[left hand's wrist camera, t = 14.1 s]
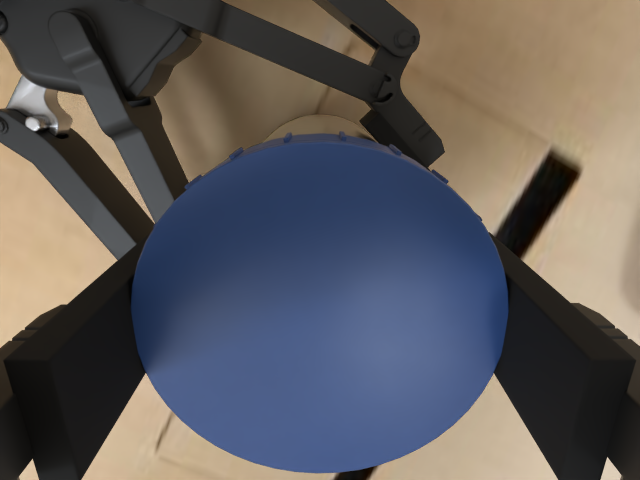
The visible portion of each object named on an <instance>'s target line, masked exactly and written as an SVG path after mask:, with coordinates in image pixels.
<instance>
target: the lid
mask: <svg viewBox="0 0 640 480" xmlns="http://www.w3.org/2000/svg"><path fill="white" fill-rule="evenodd" d="M448 182H449V181H448V180H447V179H445V178H444V177H443V176H441V175H440V174H439V173H437V172H436V171H435V170H432V171H431V172H430V171H429V170H427V169H426V168H425V167H423V166H422V165H421V164H419V163H418V162H417V161H415V160H413V159H412V158H410V157H408V156H406V155H404V154H402V152H401V151H400V150H399V149H397V148H396V147H395V146H394V145H392V144H390V145H389V147H387V146H384V145H382V144H379V143H376V142H374V141H371V140H366V139H362V138H357V137H353V136H348V135H345V133H344V132H343V131H340V132H339V135H337V134H326V133H319V134H298V135H293V136H292V133H291V132H290V133H287V134H286V135H285V137H282V138H277V139H273V140H270V141H267V142H264V143H261V144H258V145H255V146H252V147H249V148H247V149H245V150H243V148H242V147H241V148H239V149H238V150H236V151H235V152H234V153H232V154H231V155H230V156H229V158H228V159H226V160H225V161H223V162H222V163H221V164H219V165H218V166H216V167H215V168H213V169H212V170H210V171H209V172H208V173H206V174H205V175H204V176H203V177H202V176H201V175H199V176H198V177H196V178H195V179H194V180H192V181H191V182H190V183H188V184H187V185H186V186H185V189H186V191H185V192H184V193H183V194H181V195H180V196H179V197H178V198H177V199H176V200H175V201H174V202H173V203H172V204H171V206H170V207H169V208H168V209H167V210H166V212H165V213H164V214H163V215H162V217H161V218H160V219H159V220H158V222H157V223H155V225H154V226H153V228H154V229H153V230H152V232H151V234H150V235H149V237H148V239H147V241H146V243H145V245H144V248H143V250H142V253H141V255H140V258H139V260H138V263H137V267H136V271H135V275H134V280H133V284H132V295H131V315H132V321H133V327H134V333H135V339H136V344H137V350H138V354H139V357H140V359H141V362H142V365H143V367H144V370H145V372H146V374H147V375H148V377H149V379H150V381H151V383H152V384H153V386H154V388H155V390H156V391H157V392H158V394H159V395H160V396H161V398H162V399H163V400H164V402H165V403H166V404H167V406H168V407H169V408H170V409H171V410H172V411H173V412H174V413H175V414H176V415H177V416H178V417H179V418H180V419H181V421H183V422H184V423H185V424H186V425H187V426H189V427H190V428H191V429H192V430H193V431H195V432H196V433H197V434H198V435H200V436H201V437H203V438H204V439H206V440H207V441H209V442H211V443H212V444H214V445H215V446H217V447H219V448H221V449H223V450H225V451H227V452H229V453H231V454H233V455H235V456H237V457H240V458H243V459H245V460H248V461H250V462H253V463H256V464H260V465H264V466H267V467H271V468H275V469H281V470H287V471H293V472H305V473H338V472H345V471H353V470H360V469H364V468H368V467H372V466H377V465H381V464H383V463H386V462H389V461H392V460H395V459H398V458H400V457H403V456H405V455H407V454H409V453H411V452H413V451H415V450H417V449H419V448H421V447H423V446H424V445H426V444H428V443H429V442H431V441H432V440H434V439H436V438H437V437H439V436H440V435H441V434H442V433H444V432H445V431H446V430H448V429H449V428H450V427H451V426H453V425H454V424H455V423H456V422H457V421H458V420H459V419H460V418H461V417H462V416H463V415H464V414H465V413H466V412H467V411H468V410H469V409H470V408H471V406H472V405H473V404H474V403H475V401H476V400H477V399H478V398H479V396H480V395H481V394H482V392H483V390H484V389H485V387H486V385H487V384H488V382H489V380H490V379H491V377H492V375H493V373H494V371H495V368H496V366H497V364H498V361H499V359H500V357H501V353H502V348H503V343H504V337H505V331H506V326H507V319H508V313H509V303H508V288H507V283H506V277H505V272H504V268H503V265H502V262H501V259H500V257H499V254H498V251H497V248H496V246H495V244H494V242H493V240H492V238H491V237H490V235H489V233H488V231H487V229H486V227H485V226H484V224H483V223H482V222H481V221H482V219H481V217H480V216H478V215H477V214H476V213H475V212H474V211H473V210H472V208H471V207H470V206H469V205H468V204H467V203H466V202H465V201H464V200H463V199H462V198H461V197H460V196H459V195H458V194H457V193H456V192H455V191H454V190H453V189H452V188H451V187H449V186H448V185H447V183H448Z"/></svg>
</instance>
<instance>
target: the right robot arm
mask: <svg viewBox="0 0 640 480" xmlns="http://www.w3.org/2000/svg"><path fill="white" fill-rule="evenodd" d="M313 1H314V2H316V3H317V4H318V5H319V6H321V7H322V8H323V9H324V10H326V11H327V12H328V13H329V14H331V15H332V16H333V17H334V18H335V19H337V20H338V21H339V22H340V23H342V24H343V25H344V26H345V27H347V28H348V29H349V30H350V31H352V32H353V33H354V34H355V35H357V36H358V37H359V38H360V39H362V40H363V41H364V42H365V43H367V44H368V45H369V46H370V47H372V48H373V49H374V50H375V53H374V55H373V57H372V59H371V61H370V63H369V65H366V64H364V63H361V62H359V61H357V60H355V59H352V58H350V57H348V56H345V55H343V54H341V53H339V52H336V51H334V50H332V49H329V48H327V47H325V46H323V45H320V44H318V43H316V42H313V41H311V40H309V39H307V38H304V37H302V36H300V35H297V34H295V33H293V32H291V31H288V30H286V29H284V28H281V27H279V26H277V25H274V24H272V23H270V22H268V21H265V20H263V19H261V18H258V17H256V16H254V15H252V14H249V13H247V12H245V11H242V10H240V9H238V8H236V7H233V6H231V5H229V4H227V3H225V2H223V1H221V0H0V39H1V40H2V42H3V43H4V44H5V46H6V47H7V49H8V50H9V52H10V54H11V56H12V58H13V61H14V63H15V65H16V67H17V68H18V70H19V71H20V73H21V74H22V76H21V78H20V80H19V82H18V84H17V86H16V88H15V91H14V93H13V95H12V97H11V99H10V101H9V103H8V105H7V107H6V108H5V109H0V142H1V143H2V144H4V145H5V146H7V147H8V148H10V149H11V150H13V151H15V152H16V153H18V154H19V155H21V156H22V157H24V158H25V159H27V160H29V161H30V162H32V163H33V164H34V165H35V166H36V167H37V169H38V170H39V171H40V172H41V173H42V174H43V175H44V177H45V178H46V179H47V180H48V181H49V182H50V183H51V185H52V186H53V187H54V188H55V189H56V190H57V191H58V193H59V194H60V195H61V196H62V197H63V198H64V199H65V201H66V202H67V203H68V204H69V205H70V206H71V207H72V209H73V210H74V211H75V212H76V213H77V214H78V215H79V217H80V218H81V219H82V220H83V221H84V222H85V223H86V225H87V226H88V227H89V228H90V229H91V230H92V231H93V233H94V234H95V235H96V236H97V237H98V238H99V239H100V241H101V242H102V243H103V244H104V245H105V246H106V247H107V249H108V250H109V251H110V252H111V253H112V254H113V255H114V257H115V258H116V259H117V260H119V259H120V258H121V257H122V256H124V255H125V254H126V253H127V252H128V251H129V250H130V249H132V248H133V247H134V246H135V245H136V244H137V243H139V242H140V241H141V240H142V239H143V238H144V237H145V236H147V235H148V234H149V233H150V232H152V230H153V229H154V228H153V226H154V225H155V224H154V223H153V222H152V220H151V219H150V218H149V217H148V215H147V214H146V213H145V212H144V210H143V209H142V208H141V207H140V206H139V204H138V203H137V202H136V201H135V199H134V198H133V197H132V196H131V195H130V193H129V192H128V191H127V190H126V188H125V187H124V186H123V185H122V184H121V182H120V181H119V180H118V179H117V177H116V176H115V175H114V174H113V173H112V171H111V170H110V169H109V168H108V166H107V165H106V164H105V163H104V162H103V160H102V159H101V158H100V157H99V155H98V154H97V153H96V152H95V151H94V149H93V148H92V147H91V146H90V145H89V144H88V143H87V142H86V140H84V139H83V138H82V137H81V136H80V135H79V134H78V133H77V132H75V131H74V130H73V129H71V128H70V126H71V124H72V118H71V116H70V115H69V114H67V113H66V112H65V111H64V110H63V109H62V108H61V106H60V105H59V103H58V99H57V93H58V91H63V92H68V93H73V94H79V95H84V96H85V98H86V100H87V102H88V104H89V106H90V108H91V110H92V112H93V114H94V116H95V118H96V120H97V122H98V124H99V126H100V127H101V129H102V131H103V132H104V133H105V134H106V135H107V136H109V137H110V138H112V140H113V141H114V142H115V144H116V146H117V148H118V150H119V152H120V154H121V156H122V158H123V160H124V162H125V164H126V166H127V168H128V170H129V172H130V174H131V176H132V178H133V180H134V182H135V184H136V186H137V188H138V190H139V192H140V194H141V196H142V198H143V200H144V202H145V204H146V206H147V208H148V210H149V212H150V214H151V216H152V218H153V220H154V222H155V223H157V222H158V220H159V219H160V218H161V217H162V215H163V214H164V213H165V212H166V210H167V209H168V208H169V207H170V206H171V204H172V203H173V202H174V201H175V200H176V199H177V198H178V197H179V196H180V195H181V194H183V193H184V192H185V191H186V189H185V186H186V185H187V184H188V183H189V182H188V180H187V178H186V176H185V174H184V171H183V169H182V167H181V165H180V163H179V161H178V158H177V156H176V154H175V152H174V150H173V147H172V145H171V143H170V141H169V139H168V137H167V134H166V132H165V130H164V128H163V125H162V115H161V112H160V110H159V108H158V105H157V103H156V101H155V99H154V97H153V96H156V94H157V93H158V92H159V91H160V90H161V89H162V88H163V86H164V85H165V84H166V83H167V81H168V78H169V76H170V74H171V72H172V70H173V67H174V66H175V65H176V64H177V63H179V62H181V61H182V60H184V59H185V58H187V57H188V56H190V55H191V54H192V53H193V52H194V51H195V49H196V48H197V47H198V46H199V45H200V44H201V42H202V41H201V40H200V39H199V38H200V36H201V33H202V32H203V33H205V34H208V35H210V36H212V37H215V38H217V39H219V40H222V41H224V42H226V43H229V44H231V45H234V46H236V47H238V48H241V49H243V50H245V51H248V52H250V53H252V54H255V55H257V56H260V57H262V58H264V59H267V60H269V61H271V62H274V63H276V64H278V65H281V66H283V67H285V68H288V69H290V70H292V71H295V72H297V73H300V74H302V75H304V76H307V77H309V78H311V79H314V80H316V81H318V82H321V83H323V84H325V85H328V86H330V87H333V88H335V89H337V90H340V91H342V92H344V93H347V94H349V95H351V96H354V97H356V98H358V99H361V100H363V101H365V102H366V104H367V105H368V106H369V107H370V108H371V110H370V111H369V112H368V113H367V114H366V115H365V116H364V117H363V118H362V119H361V120H360V123H361V124H362V125H363V126H364V127H365V128H366V129H367V130H368V132H369V133H370V134H371V135H372V136H373V137H374V138H375V139H376V141H377V142H378V143H379V144H382V145H384V146H387V147H389V145H390V144H392V145H394V146H395V147H396V148H397V149H399V150H400V151H401V152H402V154H404V155H406V156H408V157H410V158H412V159H413V160H415V161H417V162H418V163H419V164H421V165H422V166H423V167H425V168H426V169H427V170H429V169H428V168H427V167H429V166H430V165H431V164H432V163H433V162H434V161H435V160H436V159H438V158H439V157H440V156H441V155H442V154H443V153H444V152H445V151H444V147H443V144H442V141H441V139H440V138H439V137H438V135H437V134H436V133H435V132H434V131H433V130H432V128H431V127H430V126H429V125H428V123H427V122H426V121H425V120H424V119H423V118H422V116H421V115H420V114H419V113H418V112H417V110H416V109H415V108H414V107H413V106H412V104H411V103H410V102H409V101H408V100H407V99H406V97H405V96H404V95H403V93H402V91H401V88H400V78H401V75H402V72H403V70H404V68H405V66H406V64H407V62H408V60H409V59H410V57H411V55H412V53H413V52H414V51H415V50H416V49H417V47H418V45H419V41H420V35H419V31H418V29H417V28H416V26H415V25H414V24H413V23H412V22H411V21H409V20H408V19H407V18H406V17H405V16H403V15H402V14H401V13H400V12H399V11H397V10H396V9H395V8H394V7H393V6H392V5H390V4H389V3H388V2H387V1H386V0H313ZM429 171H430V170H429ZM430 172H431V171H430Z"/></svg>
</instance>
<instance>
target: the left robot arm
mask: <svg viewBox="0 0 640 480" xmlns="http://www.w3.org/2000/svg"><path fill="white" fill-rule="evenodd" d="M488 233H489V235H490V237H491V238H492V240H493V242H494V244H495V246H496V248H497V251H498V254H499V257H500V259H501V262H502V265H503V268H504V272H505V277H506V283H507V288H508V303H509V313H508V319H507V326H506V331H505V337H504V343H503V348H502V353H501V357H500V359H499V361H498V364H497V366H496V368H495V371H494V374H495V376H496V377H497V379H498V381H499V382H500V384H501V385H502V387H503V389H504V390H505V392H506V394H507V395H508V397H509V399H510V400H511V402H512V404H513V405H514V407H515V409H516V410H517V412H518V414H519V415H520V417H521V419H522V420H523V422H524V424H525V425H526V427H527V429H528V430H529V432H530V434H531V435H532V437H533V439H534V440H535V442H536V443H537V445H538V447H539V448H540V450H541V452H542V453H543V455H544V457H545V458H546V460H547V462H548V463H549V465H550V467H551V468H552V470H553V472H554V473H555V475H556V477H557V478H558V480H600V479H601V476H602V472H603V469H604V466H605V462H606V459H607V457H608V458H609V459H610V461H611V462H612V463H613V465H614V466H615V467H616V468H617V470H618V471H619V472H620V474H621V475H622V476H621V479H620V480H640V346H639V345H637V344H636V343H635V342H634V341H633V340H631V339H628V336H626V335H625V334H624V333H623V332H622V331H620V330H619V329H615V326H614V325H613V324H612V323H611V322H609V321H608V320H607V319H606V318H604V317H603V316H602V315H601V314H599V313H597V312H595V311H593V310H591V309H589V308H587V307H585V306H583V305H581V304H579V303H570V302H569V301H568V300H567V299H565V298H564V297H563V296H562V295H561V294H560V293H559V292H557V291H556V290H555V289H554V288H553V287H552V286H550V285H549V284H548V283H547V282H546V281H545V280H544V279H542V278H541V277H540V276H539V275H538V274H537V273H536V272H534V271H533V270H532V269H531V268H530V267H529V266H527V265H526V264H525V263H524V262H523V261H522V260H521V259H519V258H518V257H517V256H516V255H515V254H514V253H513V252H511V251H510V250H509V249H508V248H507V247H506V246H505V245H503V244H502V243H501V242H500V241H499V240H498V239H496V238H495V237H494V236H493V235H492V234H491V233H490V232H488ZM150 234H151V232H150V233H149V234H148V235H147V236H145V237H144V238H143V239H142V240H141V241H140V242H139V243H137V244H136V245H135V246H134V247H133V248H132V249H130V250H129V251H128V252H127V253H126V254H125V255H124V256H122V257H121V258H120V259H119V260H118V261H117V262H116V263H114V264H113V265H112V266H111V267H110V268H109V269H107V270H106V271H105V272H104V273H103V274H102V275H101V276H99V277H98V278H97V279H96V280H95V281H94V282H93V283H91V284H90V285H89V286H88V287H87V288H86V289H84V290H83V291H82V292H81V293H80V294H79V295H78V296H76V297H75V298H74V299H73V300H72V301H71V302H70V303H68V304H67V305H60V306H58V307H56V308H54V309H52V310H50V311H48V312H46V313H44V314H42V315H40V316H39V317H37V318H36V319H35V320H34V321H33V322H31V323H30V324H29V325H28V326H27V327H25V330H22V331H20V332H19V333H18V334H17V335H16V336H14V337H13V338H12V341H8V342H7V343H6V344H5V345H3V346H2V347H1V348H0V480H20V479H19V476H20V474H21V473H22V472H23V470H24V469H25V468H26V466H27V465H28V464H29V462H30V461H31V460H32V459H33V461H34V464H35V467H36V471H37V474H38V477H39V480H81V479H82V478H83V476H84V474H85V473H86V471H87V469H88V468H89V466H90V464H91V463H92V461H93V459H94V458H95V456H96V454H97V453H98V451H99V449H100V448H101V446H102V444H103V443H104V441H105V439H106V438H107V436H108V434H109V433H110V431H111V430H112V428H113V426H114V425H115V423H116V421H117V420H118V418H119V416H120V415H121V413H122V411H123V410H124V408H125V406H126V405H127V403H128V401H129V400H130V398H131V396H132V395H133V393H134V391H135V390H136V388H137V386H138V385H139V383H140V381H141V380H142V378H143V377H144V375H145V373H146V372H145V370H144V367H143V365H142V362H141V359H140V357H139V354H138V350H137V344H136V339H135V333H134V327H133V321H132V315H131V295H132V284H133V280H134V275H135V271H136V267H137V263H138V260H139V258H140V255H141V253H142V250H143V248H144V245H145V243H146V241H147V239H148V237H149V235H150Z"/></svg>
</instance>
